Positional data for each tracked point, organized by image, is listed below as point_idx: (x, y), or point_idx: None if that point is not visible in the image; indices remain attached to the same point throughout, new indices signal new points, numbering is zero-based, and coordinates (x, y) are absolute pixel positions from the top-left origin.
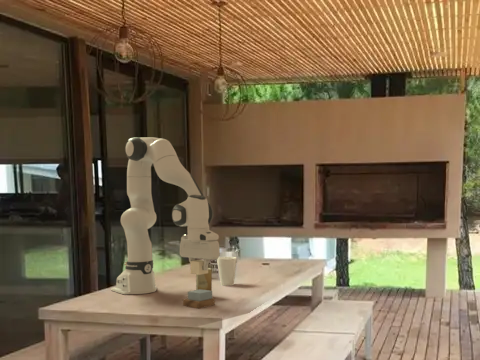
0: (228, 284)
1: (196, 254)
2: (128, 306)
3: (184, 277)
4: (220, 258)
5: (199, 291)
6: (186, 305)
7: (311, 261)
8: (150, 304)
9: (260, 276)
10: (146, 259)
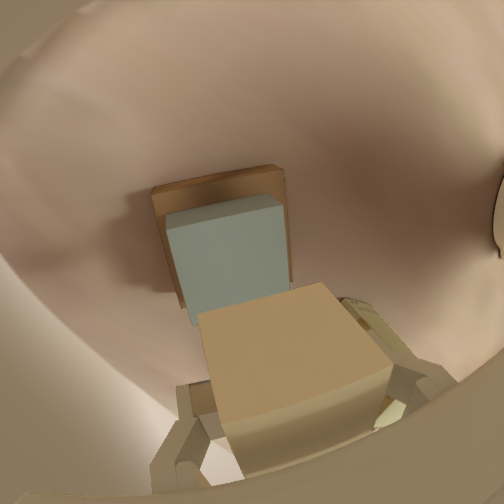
0: None
1: (340, 501)
2: (415, 13)
3: (492, 353)
4: None
5: (231, 264)
6: (246, 169)
7: None
8: (395, 81)
9: None
10: None
